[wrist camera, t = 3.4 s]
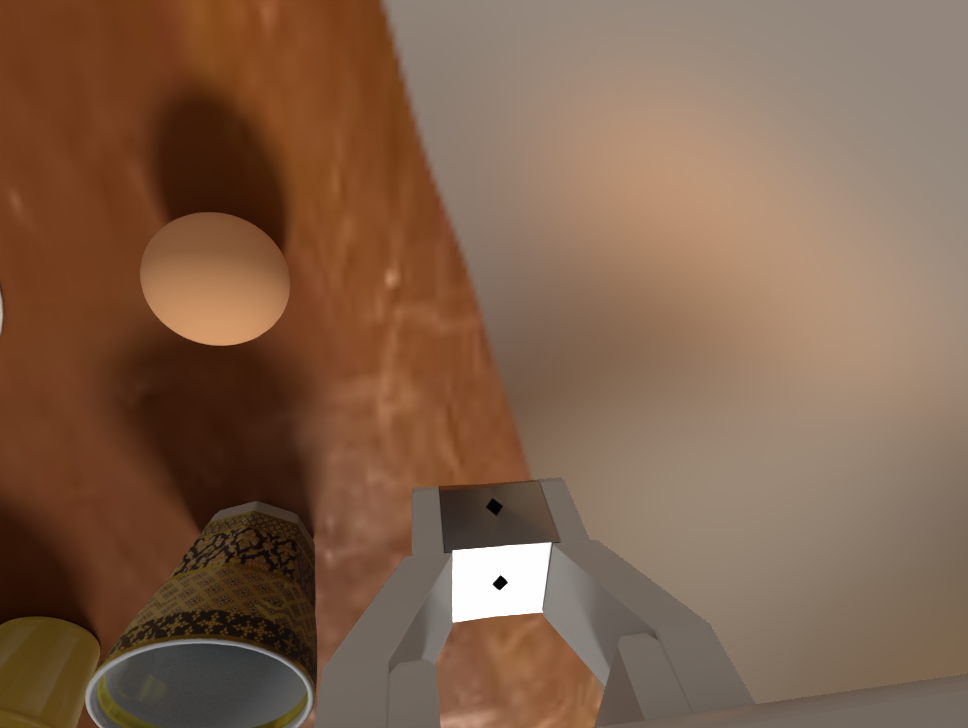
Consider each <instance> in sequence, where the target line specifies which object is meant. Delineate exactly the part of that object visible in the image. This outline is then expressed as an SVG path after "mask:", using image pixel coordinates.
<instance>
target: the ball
mask: <svg viewBox="0 0 968 728" xmlns="http://www.w3.org/2000/svg"><path fill="white" fill-rule="evenodd" d="M140 278H141V285H142V289H143V293H144V296H145V298H146V301H147V302H148V304H149V306H150V308H151V309H152V311H153V312H154V313H155V315H156V316H157V317H158V318H159V319H160V320H161V321H162V322H163V323H164V324H165V325H166V326H167V327H169V328H170V329H171V330H173V331H174V332H176V333H178V334H179V335H181V336H183V337H185V338H187V339H190V340H192V341H195V342H198V343H203V344H208V345H221V346H226V345H235V344H240V343H243V342H246V341H249V340H252V339H254V338H256V337H258V336H260V335H261V334H263V333H264V332H266V331H267V330H269V329H270V328H271V327H272V326H273V325H274V324H275V323H276V321H277V320H278V319H279V318H280V316H281V315H282V313H283V311H284V310H285V307H286V304H287V302H288V298H289V294H290V275H289V270H288V266H287V264H286V261H285V258H284V257H283V255H282V253H281V251H280V249H279V248H278V247H277V245H276V244H275V242H274V241H273V240H272V239H271V238H270V237H269V236H268V235H267V234H266V233H265V232H264V231H262V230H261V229H260V228H258V227H257V226H255V225H253V224H252V223H250V222H248V221H246V220H244V219H241V218H239V217H236V216H233V215H230V214H224V213H217V212H202V213H194V214H189V215H186V216H183V217H181V218H178V219H176V220H174V221H172V222H170V223H168V224H167V225H166V226H164V227H163V228H162V229H160V230H159V231H158V232H157V233H156V234H155V235H154V236H153V238H152V239H151V241H150V242H149V244H148V245H147V247H146V249H145V252H144V254H143V258H142V262H141V268H140Z"/></svg>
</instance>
